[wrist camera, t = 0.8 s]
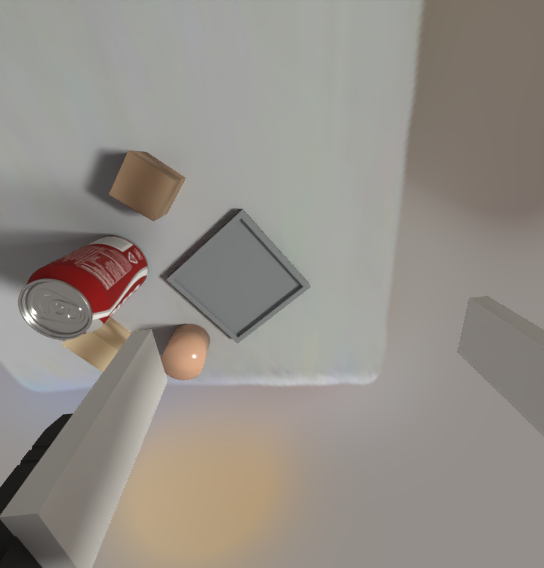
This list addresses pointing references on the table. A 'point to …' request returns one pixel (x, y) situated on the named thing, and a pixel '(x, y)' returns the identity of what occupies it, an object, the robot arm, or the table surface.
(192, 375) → the peach rounded capsule part
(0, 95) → the table surface
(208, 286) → the tray
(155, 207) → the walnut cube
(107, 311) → the soda can
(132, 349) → the robot arm
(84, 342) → the oak block
